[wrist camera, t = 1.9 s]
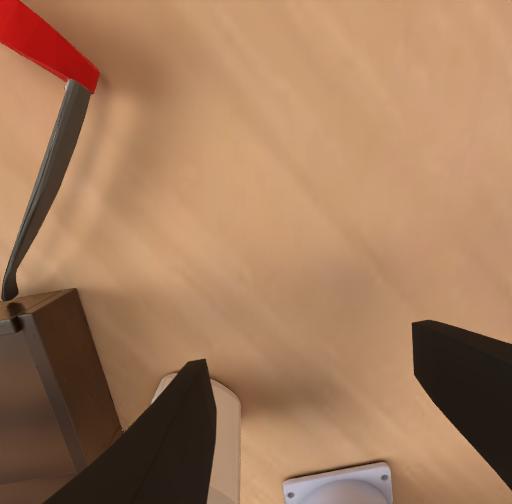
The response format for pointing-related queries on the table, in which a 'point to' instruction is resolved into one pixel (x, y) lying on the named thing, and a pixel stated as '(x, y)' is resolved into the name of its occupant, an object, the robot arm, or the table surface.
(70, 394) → the step shelf
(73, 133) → the novelty glasses
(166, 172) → the table surface
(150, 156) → the table surface
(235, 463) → the eye dropper bottle
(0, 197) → the table surface
